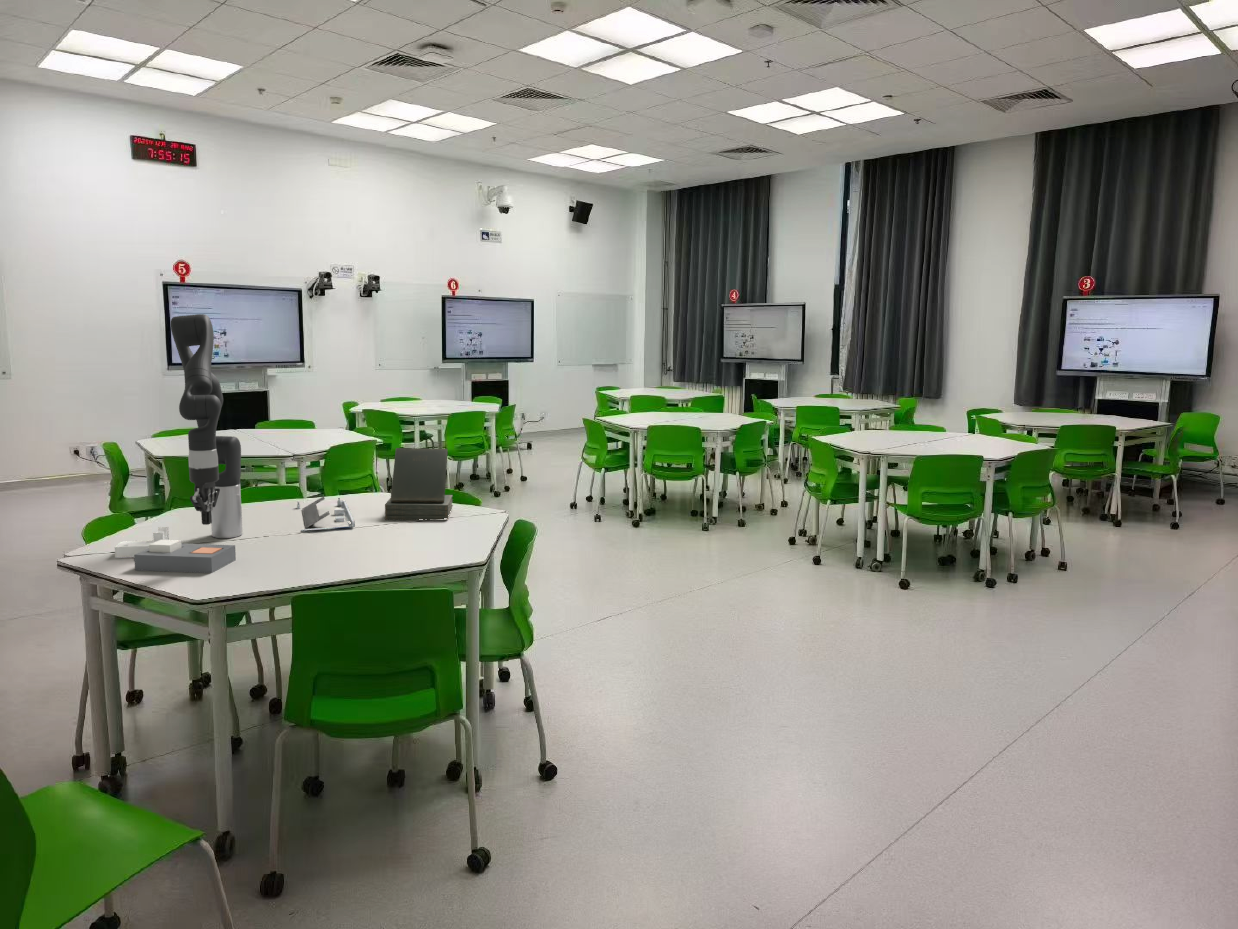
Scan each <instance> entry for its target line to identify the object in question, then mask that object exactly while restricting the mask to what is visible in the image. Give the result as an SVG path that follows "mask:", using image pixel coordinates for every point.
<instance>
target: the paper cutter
mask: <svg viewBox="0 0 1238 929" xmlns="http://www.w3.org/2000/svg"><path fill="white" fill-rule="evenodd" d="M337 498H338V499H337V502H336V503H337V507H340V508H334V509H333V510H334V511H333V512H334V513H333V515H334V516H335V522H336V523H338V522H339V523H341V522H342V523H344V522H345V520H346V522H347V521H350V522H351V524H349V523H348V522H347V525H348V526H335V527H319V528H318V527H317V528H309V527H311V526H312V525H315V523H317V522H319V521H321V520H323V519H324V518H326V517H327V516H330V511H329V510H327V511H326V512H324V513H323V514H321V515H320V513H319V510H318V507H317V504H319V503H321V502H322V501H324V500H325V499H326V498H325V496H324V495H323V496H321V497H320V498H318V499H316V500H315V501H313V502H311V503H310V504H308V505H306V506H305V507H303V508H301V504H300V501H299V500H298V501H297V504H296V509H297V510H301V509H302V516H303V521H304V526H305V528H301V531H315V530H316V531H317V530H331V529H335V530H336V529H350V528H354V527H355V526H356V522H355V521H356V520H355V519H354V516H353V514H352V512H351V509H350V507H349V505H348V502H347V501H346V500H341V498H340V497H337ZM355 528H356V527H355Z"/></svg>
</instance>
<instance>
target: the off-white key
mask: <svg viewBox="0 0 1238 929" xmlns="http://www.w3.org/2000/svg"><path fill="white" fill-rule="evenodd" d="M181 543H182V540H181V539H180V540H178V539H169V540H159V541H157V542H154V543H152V544H149V552H166V553H171V552H173V551H176V550H178V549H180V548H182V547H181Z"/></svg>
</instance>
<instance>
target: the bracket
mask: <svg viewBox="0 0 1238 929" xmlns="http://www.w3.org/2000/svg"><path fill="white" fill-rule="evenodd" d="M169 532H170V531H169V526H162V527H161V526H160V527H158V528H157V531H153V532H152V537H153V538H152V539H153V540H152V539H150V540H127V541H126V540H125V541H124V540H122V541H120V542H119V543H118V544H117V545H115V546H114V558H116V559H119V558H120V559H121V558H122V559H123V558H134V555H135V554H137V553H139V552H142V551H144V550H146V549H149V544H152V543H154V542H157V541H159V540H170V536H169V535H170V533H169Z"/></svg>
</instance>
